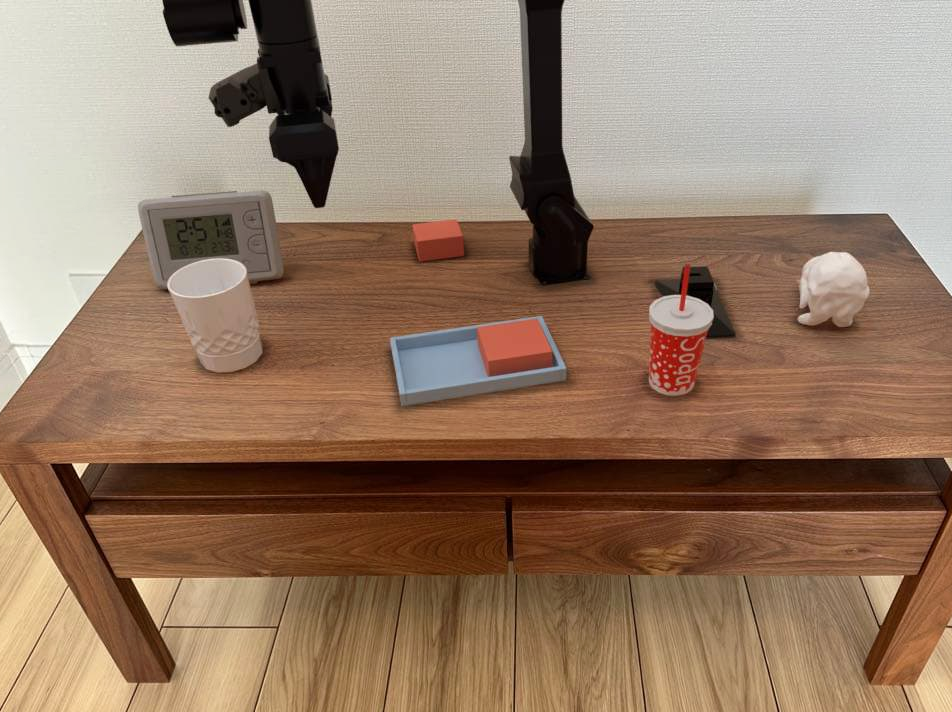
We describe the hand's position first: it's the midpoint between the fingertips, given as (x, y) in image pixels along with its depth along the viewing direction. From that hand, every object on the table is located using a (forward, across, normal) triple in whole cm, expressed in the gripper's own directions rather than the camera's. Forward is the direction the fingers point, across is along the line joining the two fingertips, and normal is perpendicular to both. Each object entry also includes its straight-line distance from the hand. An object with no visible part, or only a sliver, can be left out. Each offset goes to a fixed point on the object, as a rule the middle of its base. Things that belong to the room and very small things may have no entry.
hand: (318, 189), depth 83 cm
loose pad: (+14, -10, +14) cm, 22 cm away
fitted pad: (+14, +17, +18) cm, 28 cm away
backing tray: (+14, +17, +14) cm, 26 cm away
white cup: (+14, +8, -12) cm, 21 cm away
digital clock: (+14, -10, -14) cm, 23 cm away
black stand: (+15, +12, +40) cm, 45 cm away
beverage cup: (+15, +26, +32) cm, 44 cm away
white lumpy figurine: (+15, +16, +54) cm, 59 cm away
